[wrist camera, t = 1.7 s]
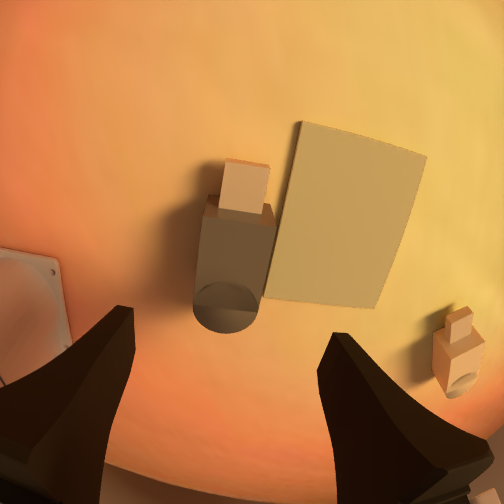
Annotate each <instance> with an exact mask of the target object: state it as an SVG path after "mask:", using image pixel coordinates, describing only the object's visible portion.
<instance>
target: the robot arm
mask: <svg viewBox="0 0 504 504" xmlns="http://www.w3.org/2000/svg"><path fill="white" fill-rule="evenodd" d="M52 270H54V271H55V273H54V272H53V271H52ZM67 345H68V346H67ZM135 350H136V348H135V331H134V309H133V308H131V307H126V306H120V305H117V306H115V307H114V308H113V309H112V310H111V311H110V312H109V313H108V314H107V315H105V316H104V317H103V318H102V319H101V320H100V321H99V322H98V323H97V324H96V325H95V326H94V327H92V328H91V329H90V330H89V331H88V332H87V333H86V334H84V335H83V336H82V337H81V338H80V339H79V340H77V341H76V342H75V343H74V344H73V342H72V338H71V333H70V328H69V323H68V318H67V312H66V307H65V301H64V294H63V288H62V281H61V273H60V265H59V262H58V260H57V259H55V258H53V257H48V256H43V255H37V254H32V253H27V252H22V251H16V250H11V249H6V248H1V247H0V504H99V498H100V488H101V481H102V473H103V467H104V460H105V454H106V449H107V444H108V439H109V434H110V430H111V426H112V423H113V420H114V417H115V414H116V411H117V408H118V406H119V403H120V400H121V397H122V394H123V392H124V389H125V386H126V383H127V381H128V378H129V375H130V372H131V367H132V363H133V359H134V355H135ZM317 377H318V387H319V394H320V398H321V402H322V406H323V410H324V414H325V418H326V422H327V426H328V430H329V434H330V438H331V442H332V447H333V453H334V462H335V471H336V484H337V504H501V503H500V500H499V498H498V495H497V493H496V490H495V489H494V488H492V489H490V490H488V491H486V492H483V493H481V494H479V495H477V496H475V497H473V498H471V499H470V500H468V497H467V494H469V493H470V491H471V490H470V487H469V485H468V484H470V483H471V482H472V481H473V480H475V479H476V478H477V477H478V476H480V475H481V474H482V473H483V472H484V471H485V470H487V469H488V468H489V467H490V465H491V464H492V463H493V461H494V455H493V453H492V451H491V449H490V447H489V445H488V443H487V441H486V440H484V439H482V438H479V437H477V436H474V435H472V434H470V433H467V432H465V431H463V430H461V429H459V428H457V427H455V426H453V425H451V424H450V423H448V422H446V421H445V420H443V419H441V418H440V417H438V416H437V415H435V414H434V413H432V412H431V411H429V410H428V409H426V408H425V407H423V406H422V405H421V404H419V403H418V402H417V401H416V400H414V399H413V398H412V397H411V396H409V395H408V394H407V393H406V392H405V391H404V390H402V389H401V388H400V387H399V386H398V385H397V384H396V383H395V382H394V381H393V380H392V379H391V378H390V377H389V376H388V375H387V374H386V373H385V372H384V371H383V370H382V369H381V368H380V367H379V366H378V365H377V364H376V363H375V362H374V361H373V360H372V358H371V357H370V356H369V355H368V354H367V353H366V352H365V351H364V350H363V349H362V347H361V346H360V345H359V344H358V343H357V342H356V341H355V340H354V339H353V338H352V337H351V336H350V335H349V334H348V333H337V332H333V333H332V336H331V338H330V341H329V343H328V345H327V348H326V350H325V353H324V355H323V357H322V359H321V362H320V364H319V366H318V369H317Z"/></svg>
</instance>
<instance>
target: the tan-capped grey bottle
mask: <svg viewBox="0 0 504 504" xmlns="http://www.w3.org/2000/svg"><path fill="white" fill-rule="evenodd" d="M269 174H270V167H269V165H266V164H261V163H255V162H249V161H242V160H236V159H229V158H226V162H225V169H224V175H223V181H222V187H221V194H220V196H214V195H209V196H208V200H207V203H206V207H205V210H204V213H203V218H202V226H201V234H200V242H199V251H198V259H197V268H196V278H195V287H194V297H193V312H194V315H195V317H196V319H197V320H198V321H199V323H200V324H201V325H203V326H204V327H205V328H207V329H209V330H211V331H214V332H217V333H225V334H227V333H235V332H239V331H241V330H243V329H245V328H247V327H248V326H249V325H251V324H252V322H253V321H254V320H255V318H256V316H257V313H258V309H259V304H260V300H261V296H262V292H263V287H264V283H265V279H266V274H267V270H268V266H269V261H270V257H271V252H272V248H273V243H274V239H275V235H276V230H277V225H276V222H275V218H274V215H273V212H272V208H271V205H270V204H266V203H264V199H265V194H266V189H267V184H268V179H269Z"/></svg>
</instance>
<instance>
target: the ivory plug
mask: <svg viewBox="0 0 504 504" xmlns="http://www.w3.org/2000/svg"><path fill="white" fill-rule="evenodd" d="M472 320H473V312H472V311H471V310H470V308H469V307H468V306H466V307H464V308H462V309H460V310H457V311H455V312H453V313H451V314H449V315H447V316H446V321H445V327H444V328H441V329H439V330H437V331H435V332H433V351H432V371H433V373H434V375H435V377H436V378H437V380H438V382H439V384H440V386H441V387H442V389H443V391H444V393H445V395H446V397H447V398H450V399H452V398H456V397H458V396H460V395H462V394H464V393H465V392H467V391H468V390H469V389H470V388H471V387H472V386H473V385H474V383H475V382H476V380H477V377H478V373H479V369H480V364H481V360H482V356H483V351H484V346H485V341H484V339H483V338H482V337H481V336H480V334H479V333H478V332H477V330H476V329H475V328H474V327H473V325H472Z"/></svg>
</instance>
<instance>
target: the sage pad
mask: <svg viewBox="0 0 504 504" xmlns="http://www.w3.org/2000/svg"><path fill="white" fill-rule="evenodd" d="M426 159H427V156H424V155H421V154H418V153H415V152H412V151H410V150H407V149H403V148H400V147H397V146H394V145H391V144H388V143H385V142H381V141H378V140H375V139H371V138H368V137H364V136H361V135H357V134H353V133H350V132H346V131H342V130H338V129H334V128H330V127H326V126H322V125H318V124H313V123H309V122H305V121H301V125H300V130H299V135H298V140H297V144H296V149H295V154H294V159H293V163H292V168H291V172H290V177H289V182H288V186H287V191H286V195H285V200H284V204H283V209H282V214H281V218H280V222H279V227H278V231H277V236H276V240H275V245H274V249H273V253H272V258H271V262H270V266H269V271H268V275H267V279H266V284H265V288H264V292H263V297H264V298H272V299H281V300H289V301H298V302H308V303H317V304H327V305H337V306H347V307H358V308H369V309H374V308H375V306H376V303H377V301H378V299H379V296H380V294H381V292H382V289H383V287H384V284H385V282H386V279H387V277H388V274H389V272H390V269H391V267H392V264H393V261H394V259H395V256H396V253H397V251H398V248H399V245H400V242H401V239H402V237H403V234H404V231H405V228H406V225H407V222H408V219H409V216H410V213H411V210H412V207H413V204H414V200H415V197H416V194H417V191H418V187H419V184H420V181H421V177H422V174H423V170H424V166H425V163H426Z"/></svg>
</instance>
